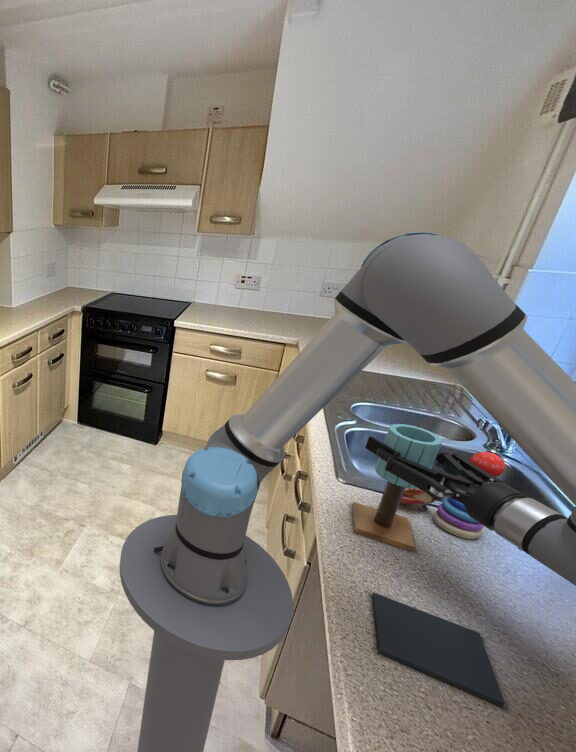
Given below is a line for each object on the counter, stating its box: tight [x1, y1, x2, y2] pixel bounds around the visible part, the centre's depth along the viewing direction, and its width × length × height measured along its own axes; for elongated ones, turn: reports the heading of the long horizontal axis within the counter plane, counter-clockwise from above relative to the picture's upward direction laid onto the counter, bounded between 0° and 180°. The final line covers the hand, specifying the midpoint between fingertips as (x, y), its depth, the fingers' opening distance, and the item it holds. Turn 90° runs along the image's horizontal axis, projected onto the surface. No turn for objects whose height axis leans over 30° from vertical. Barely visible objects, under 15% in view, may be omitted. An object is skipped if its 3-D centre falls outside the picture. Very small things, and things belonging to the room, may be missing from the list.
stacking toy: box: [432, 451, 506, 540], centre depth 86 cm, size 8×8×19 cm
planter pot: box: [374, 423, 443, 489], centre depth 83 cm, size 8×8×10 cm
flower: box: [400, 488, 436, 511], centre depth 95 cm, size 10×9×8 cm
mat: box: [371, 592, 506, 708], centre depth 64 cm, size 14×12×1 cm
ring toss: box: [351, 481, 416, 552], centre depth 86 cm, size 10×10×16 cm
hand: (387, 441), depth 87 cm, fingers closed on planter pot, 8 cm apart
